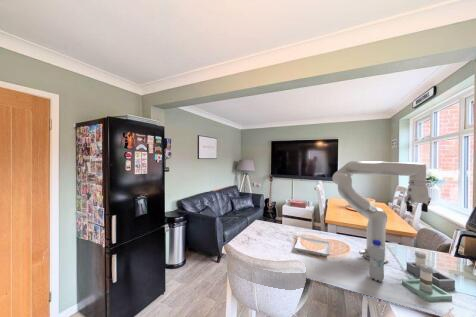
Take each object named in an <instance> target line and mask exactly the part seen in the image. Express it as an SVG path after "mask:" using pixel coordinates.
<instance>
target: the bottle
mask: <svg viewBox="0 0 476 317" xmlns="http://www.w3.org/2000/svg"><path fill="white" fill-rule="evenodd" d="M369 254H370V260H369V267H368V275H369V277H370V279H371V280H374V281H375V282H377V281H378V282H380V283H381V282H383V281H384V280H385V267H384V264H385V263H384V258H385V256H386V251H385V252H384V248H383V247H382V246H381V242H380V241H379V240H373V244H371V245H370V248H369Z"/></svg>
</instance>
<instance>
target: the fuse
mask: <svg viewBox="0 0 476 317" xmlns="http://www.w3.org/2000/svg"><path fill="white" fill-rule="evenodd" d="M414 257H415V260H414V262H415V266H416V267H418V268H420V264H424V265H426V262H427V261H426V260H427V253H425V252H422V251H419V250H418V251H417V250H415V251H414Z"/></svg>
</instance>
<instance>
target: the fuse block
mask: <svg viewBox="0 0 476 317" xmlns="http://www.w3.org/2000/svg"><path fill="white" fill-rule="evenodd" d="M406 270H407V271H408V270H409V271H408V272H410V273H412V274H413V273H414V274H413V275H415V276H416V277H418V278H420V268H418V267H416V266H415V261H407V262H406ZM432 284H433V285H435V286H437V287H438V288H440V289H442V290H455V288H456V281H455V280H454V279H452V278H451V277H450V276H449V277H448V276H447V275H445V274H443V273H442V272H440V271H438V270H436V269H434V268H433V273H432Z"/></svg>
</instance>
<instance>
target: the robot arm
mask: <svg viewBox="0 0 476 317" xmlns="http://www.w3.org/2000/svg"><path fill="white" fill-rule="evenodd" d="M354 175H359V176H360V175H365V176H367V175H368V176H404V177H405V176H408V177H409V178H408V187H407V191H406V195H405V196H404V197H403V198H402V199H403V202H404V203H405V205H406V211H407V212H409V213H413V204H414V203H415V204H421V212H425V213H428V211H429V210H428V208H429V204H430V203H431V201H432V197H430V195H429V194H430V193H429V188H428V185H427V165H426V163H424V162H423V163H421V162H390V161H378V160H377V161H376V160H375V161H374V160H373V161H372V160H371V161H369V160H368V161H367V160H365V161H363V160H359V161H358V160H350V161H348V162H347V163H345V164H344V165H343V166H341V167H340V168H339V169H337V171H335V172H334V173H333V175H332V178H331V180H332V182H333V183H334V184H336V185H337V191H338V193H339V195H340V197H341V198H343V199H344V201H346V202H347V204H348V205H349V206H350V208H352V209H354V211H356V212H357V213H359V214H360V215H361V216H363V217H364V218H365V219H367V220H368V222H367V225H366V248H364V250H359V251H358V253H359V255H363V257H364V258H365V259H367V260H369V261H370V254H369V248H370V245H371V244H373V240H379V241H380V242H381V246H382V247H383V248H384V252H385V253H386V230H387V229H386V228H387V223H388V215H387V213H386V211H385V210H384V209H382V208H380V207H377V206H376V205H373V204H372V203H371V202H370V201H369V200H368V199H367V198H366V197H365V196H363V195H362V194H360V193H359V192H358V191H356V190H355V189H354V188H353V186H352V185H353V184H352V183H353V179H352V176H354ZM386 263H389V258H388V257H387V256H386V255H385V258H384V264H386Z"/></svg>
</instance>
